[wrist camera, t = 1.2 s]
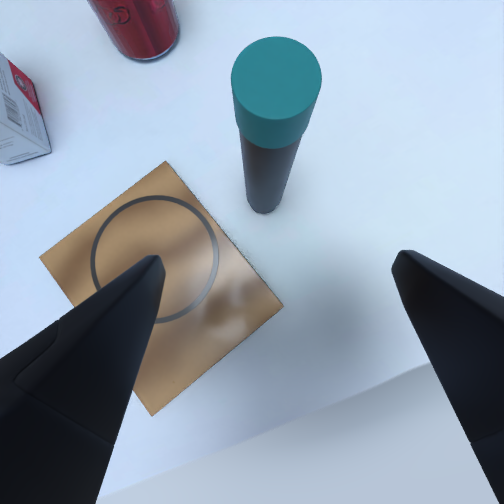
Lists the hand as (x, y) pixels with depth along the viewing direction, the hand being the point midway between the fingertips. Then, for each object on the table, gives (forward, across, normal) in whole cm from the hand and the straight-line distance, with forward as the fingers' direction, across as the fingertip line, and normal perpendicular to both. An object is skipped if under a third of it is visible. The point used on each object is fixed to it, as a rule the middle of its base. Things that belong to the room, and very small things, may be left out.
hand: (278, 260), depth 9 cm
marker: (+14, 0, +4) cm, 15 cm away
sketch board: (+9, +10, +10) cm, 16 cm away
